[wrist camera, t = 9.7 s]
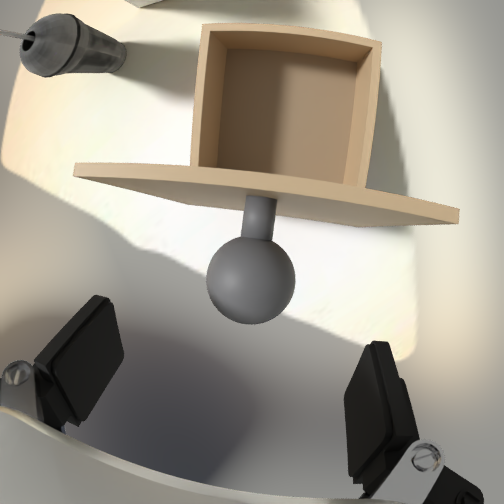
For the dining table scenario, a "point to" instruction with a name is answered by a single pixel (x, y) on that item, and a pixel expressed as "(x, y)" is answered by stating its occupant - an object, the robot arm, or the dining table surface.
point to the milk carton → (142, 2)
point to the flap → (263, 222)
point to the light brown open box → (285, 101)
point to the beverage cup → (67, 47)
